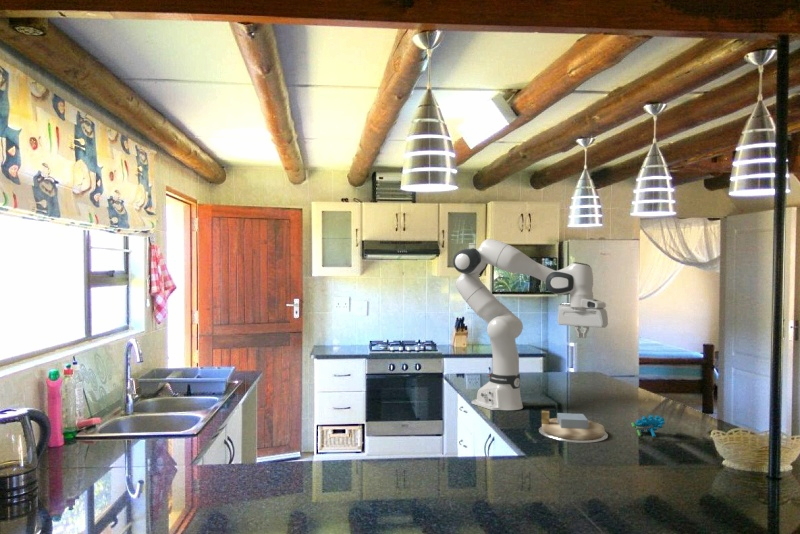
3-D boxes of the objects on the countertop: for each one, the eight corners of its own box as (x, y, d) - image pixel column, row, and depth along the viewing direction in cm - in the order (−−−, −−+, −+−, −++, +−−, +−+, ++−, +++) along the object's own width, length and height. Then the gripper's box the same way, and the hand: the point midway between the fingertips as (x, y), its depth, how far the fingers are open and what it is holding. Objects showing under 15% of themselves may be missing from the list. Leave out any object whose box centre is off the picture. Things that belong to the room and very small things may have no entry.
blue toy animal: (662, 427, 189) (665, 411, 182) (667, 442, 184) (671, 427, 178) (629, 429, 190) (631, 415, 184) (634, 445, 186) (636, 430, 179)
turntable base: (525, 432, 188) (525, 430, 188) (561, 421, 203) (561, 420, 203) (585, 447, 170) (585, 445, 171) (620, 434, 186) (620, 432, 186)
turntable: (603, 426, 193) (603, 409, 193) (605, 442, 173) (605, 423, 174) (543, 421, 200) (543, 405, 200) (539, 436, 180) (539, 418, 180)
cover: (561, 428, 183) (561, 419, 183) (557, 421, 192) (557, 413, 192) (588, 429, 182) (588, 420, 182) (583, 422, 191) (583, 413, 191)
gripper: (554, 302, 217) (554, 336, 217) (601, 303, 202) (601, 340, 201) (562, 302, 221) (563, 335, 221) (609, 303, 206) (610, 339, 205)
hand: (582, 337), depth 211 cm, fingers closed
